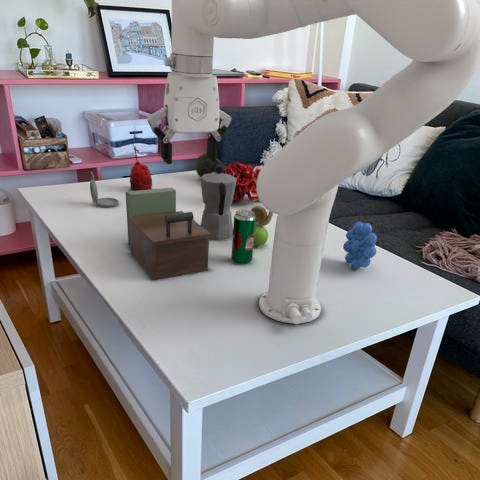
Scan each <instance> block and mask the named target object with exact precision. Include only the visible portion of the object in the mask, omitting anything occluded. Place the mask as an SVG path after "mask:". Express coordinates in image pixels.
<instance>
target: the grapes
mask: <svg viewBox="0 0 480 480" xmlns="http://www.w3.org/2000/svg"><path fill="white" fill-rule="evenodd" d="M372 231H373V226H372V225H371V224H370V223H369V222H367V223H364V222H362V221H356V222H355V223H354V224H353V226H352V228H350V229H349V230H347V232H346V234H345V238H346V241H345V242H344V243H343V245H342V248H343V250H344V252H346V254H345V256H344V259H345V261H346V263H347V264H350V267H351V268H352V269H353V270H356V271H357V270H360V269H361V268H363V269H364V268H367V267H369V266H370V264H371V261H372V260H371V259H372V258H374V257H375V256H376V254H377V249H376V243H377V241H378V236H377V234H375V233H374V232H372Z"/></svg>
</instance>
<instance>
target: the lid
mask: <svg viewBox="0 0 480 480" xmlns="http://www.w3.org/2000/svg"><path fill="white" fill-rule="evenodd" d="M129 221H130V222H131V223H132V224H133V225H134V226H135V227H136V228H137V229H138V230H139V231H140V232H141V233H142V234H143V235H144V236H145V237H146V238H147V239H148V240H149V241H150V242H151V243H152V244H153V245H160V244H167V243H174V242H181V241H188V240H194V239H201V238H208V237H211V233H209V232H208V231H207V230H206V229H204V228H203V227H202V226H201V224H200V223H198V222H197V221H195V220H194V212H193V211H185V212H184V211H183V210H179V211H177V210H176V212H168V213H160V214H151V215H142V216H133V217H129Z"/></svg>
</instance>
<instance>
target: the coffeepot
mask: <svg viewBox="0 0 480 480" xmlns="http://www.w3.org/2000/svg"><path fill="white" fill-rule="evenodd" d="M222 168H223V167H221V166H216V170H217V173H215V172H212V173H211V174H204V175H203V176H202V177H200V176H199V179H200V187H201V196H202V203H203V204H204V209H203V211H202V216H201V220H200V225H201V226H202V227H203V228H204V229H206V230H207V231H208V232H209V233H211V237H209V240H211V241H212V240H213V241H225V240H229V239H230V238H232V237H233V216H232V211H231V205H232V204H233V202H232V201H233V196H234V191H235V186H236V181H237V178H235V177H233V176H231V175H228V174H223V173H221V172H222Z"/></svg>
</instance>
